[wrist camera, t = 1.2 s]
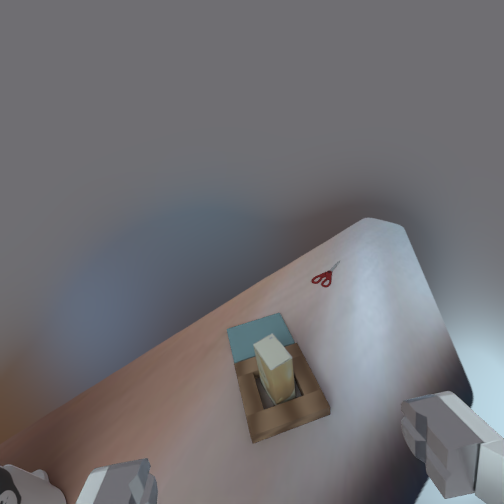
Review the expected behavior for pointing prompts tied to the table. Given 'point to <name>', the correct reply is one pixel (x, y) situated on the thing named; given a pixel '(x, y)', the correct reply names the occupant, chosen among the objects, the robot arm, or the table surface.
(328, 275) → the scissors
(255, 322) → the teal mat
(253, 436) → the pocket holder
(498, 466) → the robot arm
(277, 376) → the skincare box
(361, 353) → the table surface
